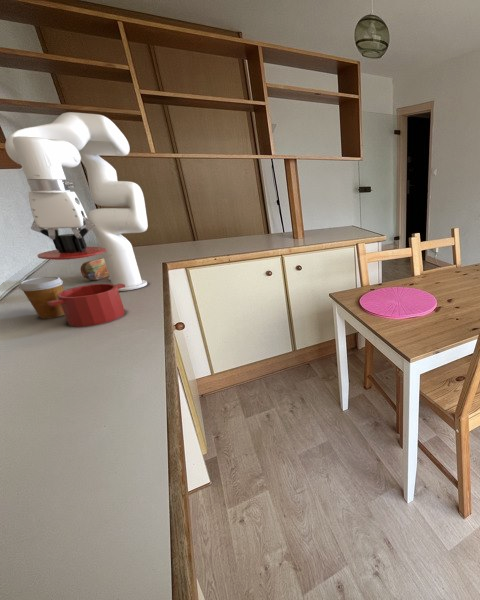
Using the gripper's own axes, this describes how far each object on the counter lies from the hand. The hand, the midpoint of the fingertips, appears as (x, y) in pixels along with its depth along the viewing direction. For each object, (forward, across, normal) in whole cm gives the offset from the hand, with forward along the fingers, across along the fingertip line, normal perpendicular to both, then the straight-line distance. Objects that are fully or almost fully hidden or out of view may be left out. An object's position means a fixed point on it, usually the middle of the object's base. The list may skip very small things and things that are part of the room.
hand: (72, 250), depth 93 cm
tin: (+23, +14, -54) cm, 61 cm away
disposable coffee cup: (+23, +14, -9) cm, 28 cm away
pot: (+22, 0, -1) cm, 22 cm away
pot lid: (+1, 0, 0) cm, 1 cm away
